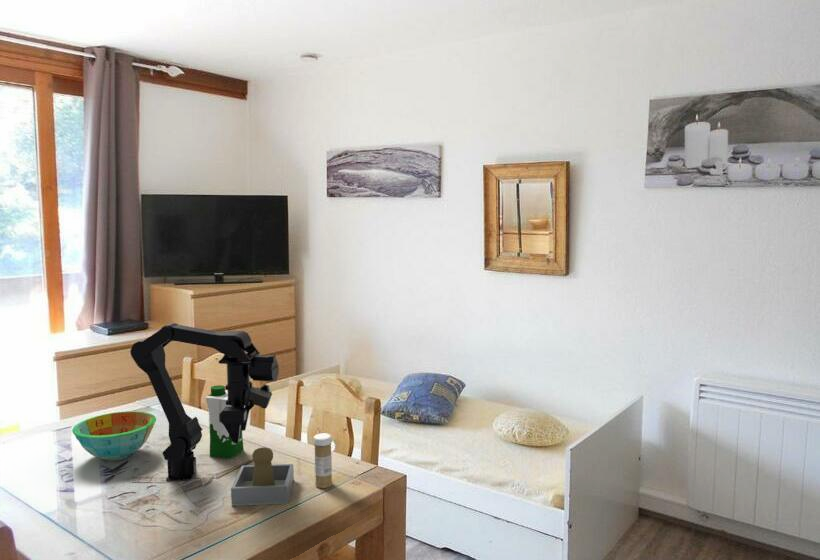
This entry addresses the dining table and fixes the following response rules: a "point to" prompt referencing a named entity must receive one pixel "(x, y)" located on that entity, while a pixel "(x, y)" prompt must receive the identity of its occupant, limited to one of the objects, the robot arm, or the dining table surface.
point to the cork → (263, 467)
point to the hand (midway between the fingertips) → (239, 436)
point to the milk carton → (220, 426)
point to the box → (262, 487)
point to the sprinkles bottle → (323, 460)
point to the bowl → (114, 434)
